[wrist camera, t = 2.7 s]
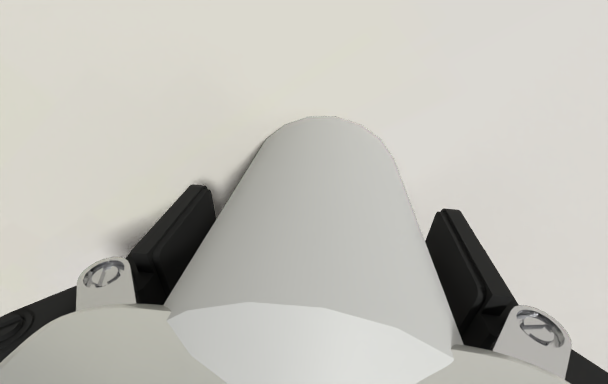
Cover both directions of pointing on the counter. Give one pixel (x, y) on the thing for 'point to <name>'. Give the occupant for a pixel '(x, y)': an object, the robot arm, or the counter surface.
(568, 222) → the counter surface
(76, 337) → the robot arm
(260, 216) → the can
